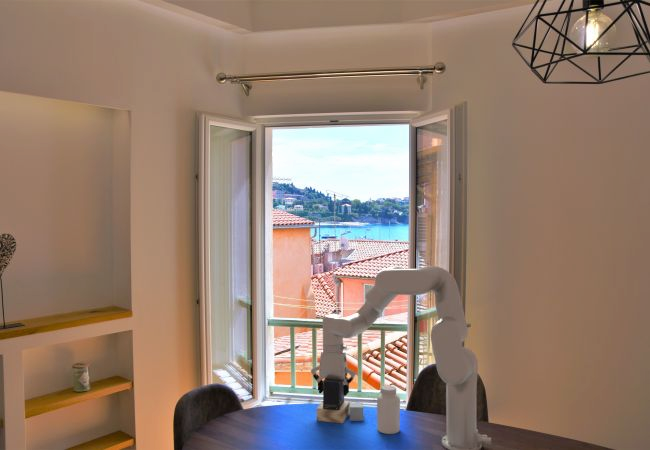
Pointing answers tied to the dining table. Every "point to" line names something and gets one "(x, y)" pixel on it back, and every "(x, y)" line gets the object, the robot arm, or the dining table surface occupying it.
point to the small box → (333, 393)
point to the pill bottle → (388, 410)
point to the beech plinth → (333, 413)
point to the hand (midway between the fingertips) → (333, 393)
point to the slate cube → (356, 411)
